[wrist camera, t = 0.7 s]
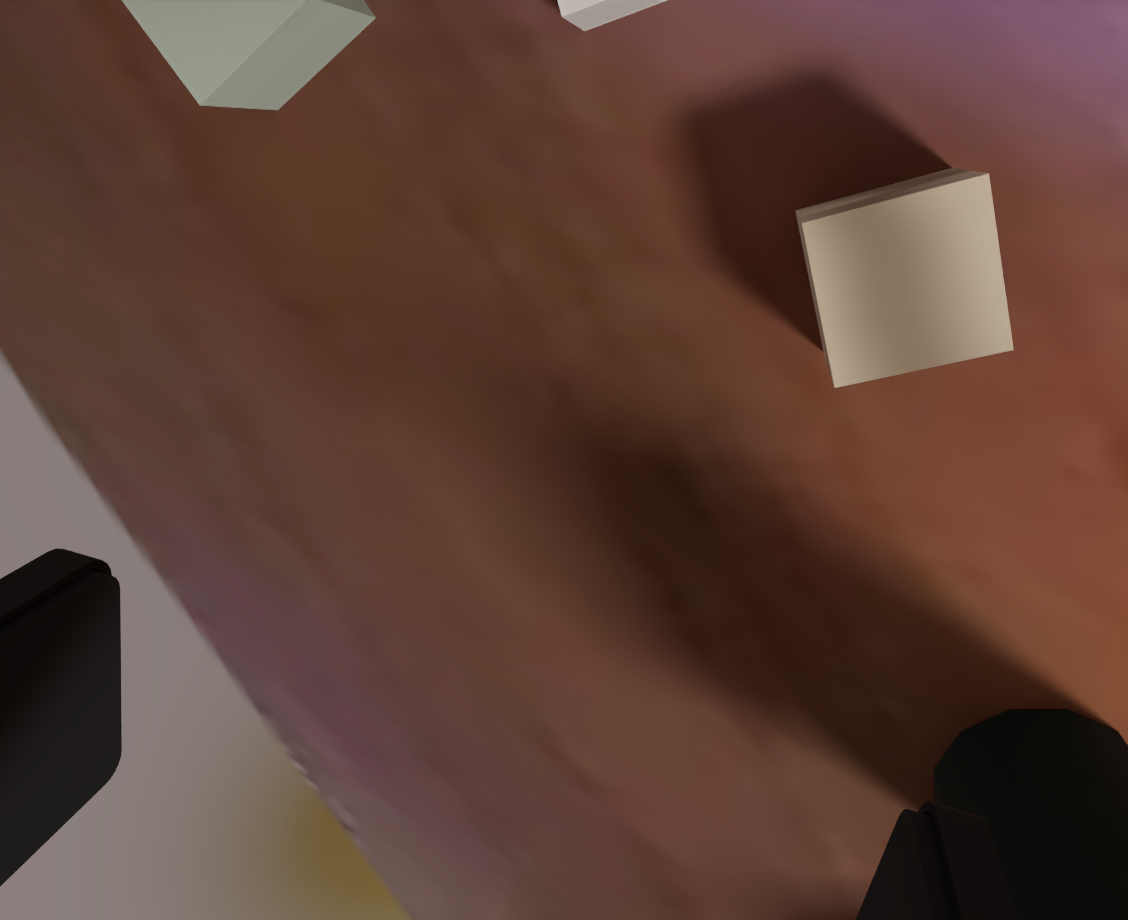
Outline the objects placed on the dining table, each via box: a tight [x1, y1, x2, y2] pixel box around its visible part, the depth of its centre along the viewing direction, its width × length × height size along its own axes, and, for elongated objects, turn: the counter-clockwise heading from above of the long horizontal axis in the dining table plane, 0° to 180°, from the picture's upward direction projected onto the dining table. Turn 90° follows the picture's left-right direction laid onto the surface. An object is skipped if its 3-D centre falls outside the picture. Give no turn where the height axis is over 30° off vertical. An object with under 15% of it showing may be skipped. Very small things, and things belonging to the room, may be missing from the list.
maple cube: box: [795, 168, 1013, 388], centre depth 28 cm, size 5×5×5 cm
